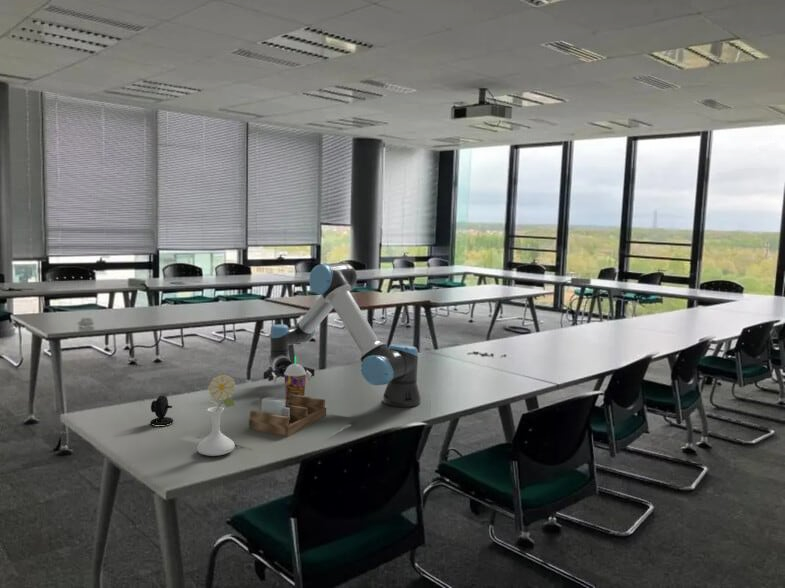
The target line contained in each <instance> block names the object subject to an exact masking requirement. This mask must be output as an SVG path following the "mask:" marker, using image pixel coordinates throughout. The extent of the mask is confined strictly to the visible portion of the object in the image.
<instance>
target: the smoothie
mask: <svg viewBox="0 0 785 588" xmlns="http://www.w3.org/2000/svg"><path fill="white" fill-rule="evenodd" d="M301 365H302V364H300V363H297V356H296V355H295V356H294V362H293V364H291V365H289V366H288V367H287V369H286V371H285V372H284V374H285V377H284V390H285V403H287V402H289V394H294V395H300V396H305V395H306V381H307V380H306V379H307V378H306V372H305V369H304V368H303V365H302V366H301Z"/></svg>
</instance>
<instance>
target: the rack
mask: <svg viewBox="0 0 785 588" xmlns="http://www.w3.org/2000/svg"><path fill="white" fill-rule="evenodd" d="M285 407H287V408H290V421H289V417H286V416H280V415H275V414H269V413H264V412H262V411H258V410H252V409H251V410H250V412H249V413H250V415H249V419H248V429H249V430H253V431H254V430H255V431H261V432H265V433H270V434H274V435H275V434H276V435H280V436H286V437H290V436H292V435H294V434H295V433H297V432H299V431H301V430H303V429H304V428H307V427H309V426H310V425H312V424H314V423H316V422H317V421H320V420H321V419H324V418H325V417H326V416H327V407H326V399H324V398H317V397H311V396H307V395H306V396H300V395H294V394H289V402H287V403H286V402H285Z"/></svg>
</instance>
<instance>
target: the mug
mask: <svg viewBox="0 0 785 588" xmlns="http://www.w3.org/2000/svg"><path fill="white" fill-rule="evenodd" d="M285 403H286V397H285V398H284V397H282V396H269V397H264V398H262V399H261V412H264V413H269V414H275V415H280V416H286V417H289V421H290V408H287V407H285Z"/></svg>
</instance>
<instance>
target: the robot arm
mask: <svg viewBox="0 0 785 588" xmlns="http://www.w3.org/2000/svg"><path fill="white" fill-rule="evenodd" d="M357 281H358V275H357V271H356V269H355V268H354V267H353V266H352V265H351V264H349V263H347V262H333V263H327V262H326V263H325V262H324V263H321V264H317V265H315V266H314V267H313V268H312V270H311V271H310V272H309V280H308V282H309V286H310V289H311V290H312V292H313V293H315V294H317V295H320V296H319V297H318V299H317V300H316V301H315V302H314V303H313V304H312V306H311V307H310V308H309V309H308V310H307V311H306V313H305V314H304V316H302V318H301V319H300V320H299V321H298V322H297V324H296V325H295V326H291V327H289V326H288V325H287V324H284V323H283V324H282V323H281V324H280V323H279V324H273V325H272V326H271V327H270V332H269V333H270V334H269V336H270V355H269V357H268V361H269V364H270V366H269V367H268V368H267V369H266V370H265V371H264V372H263V380H267V379H268V380H267V381H268V382H271V381H272V382H273V384H275V385H276V384H277V377H282V378H285V374H284V372H285V371H286V369H287V367H288V366H289V365H291V364H294V362H292V360H291V359H290V358H289V346H292V345H294V344H301V343H306V342H308V341H310V340H312V338H313V336H314V331H315V330H316V328H317V327H318V326H319V325H320V324H322V322H323V320H325V318H326V317H327V316H328V315H329V313H330V312H331V311H333V309H334V311H335V312H336V314H337V315H338V317H339V319H340V320H341V322H342V324H343V325H344V327H345V329H346V330H347V332H348V334H349V335H350V338H351V339H352V341H353V342H354V344H355V345H356V347H357V349H358V350H359V352H360V357H359V359H360V361H361V364H360V366H361V367H360V368H361V369H360V371H361V375H362V376H363V378H364V380H365V381H366V382H368V384H370V385H373V386H383V385H386V387H385V390H384V393H383V395H382V401H383V403H384V404H385V405H388V406H392V407H398V408H411V407H416V406H419V405H420V404H421V402H422V401H421V398H422V397H421V393H420V389H419V387H418V364H419V363H418V362H419V361H418V360H419V352H418V348H417V347H416V346H413V345H406V344H396V343H395V344H393V343H392V344H389V346H388V344H387V343H385V342H382V341H380V340H379V338H378V336H377V334H376V333H375V331H374V329H373V327H372V326H371V324H370V323H369V321H368V320H367V317H366V316H365V315H364V313H363V311H362V310H361V309H360V307H359V305H358V303H357V302H356V300H355V298H354V297H353V295H352V294H351V292H352V291H353V289H354V287H355V286H356V284H357ZM300 365H301V366H303V365H302V364H300ZM303 368H304V369H305V372H306V379H307V380H308V381H309V382H312V381H313V380H312V378H313V377H315V368H310V367H306V366H303Z"/></svg>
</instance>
